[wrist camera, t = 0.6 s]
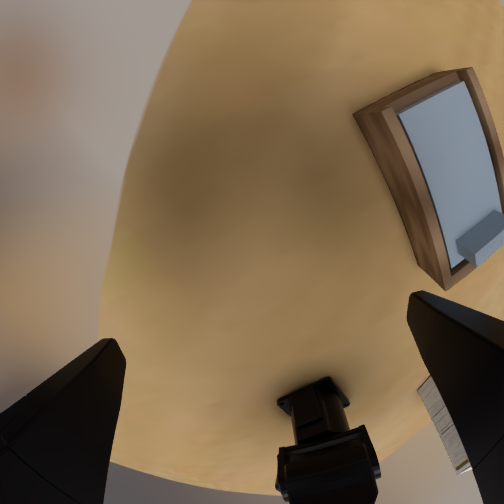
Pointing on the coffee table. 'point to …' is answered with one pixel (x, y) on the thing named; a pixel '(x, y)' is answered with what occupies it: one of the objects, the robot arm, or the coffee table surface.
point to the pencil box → (408, 172)
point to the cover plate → (456, 172)
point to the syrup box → (444, 426)
